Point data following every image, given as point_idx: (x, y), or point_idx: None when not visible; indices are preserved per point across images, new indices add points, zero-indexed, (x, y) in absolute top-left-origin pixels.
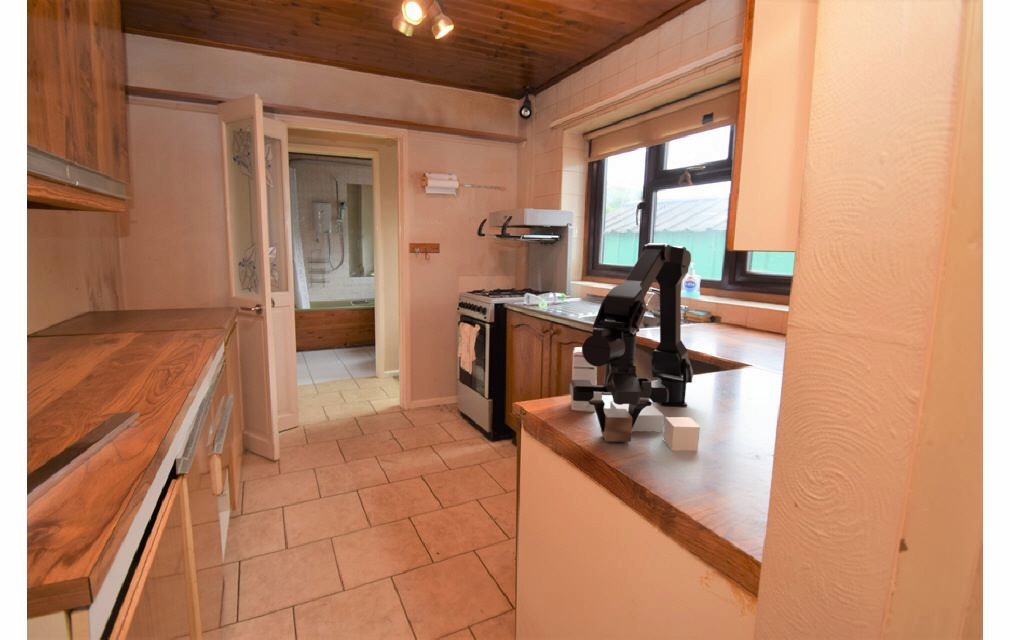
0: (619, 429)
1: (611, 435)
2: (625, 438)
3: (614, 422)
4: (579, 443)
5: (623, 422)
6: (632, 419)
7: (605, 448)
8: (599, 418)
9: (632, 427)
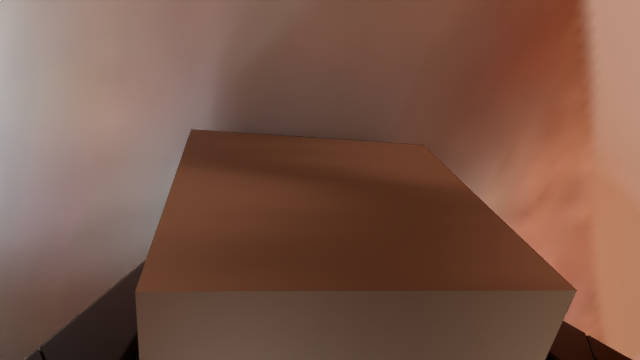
0: (329, 191)
1: (394, 164)
2: (247, 145)
3: (427, 238)
4: (586, 163)
5: (297, 237)
6: (120, 333)
7: (440, 66)
8: (572, 328)
9: (137, 268)
